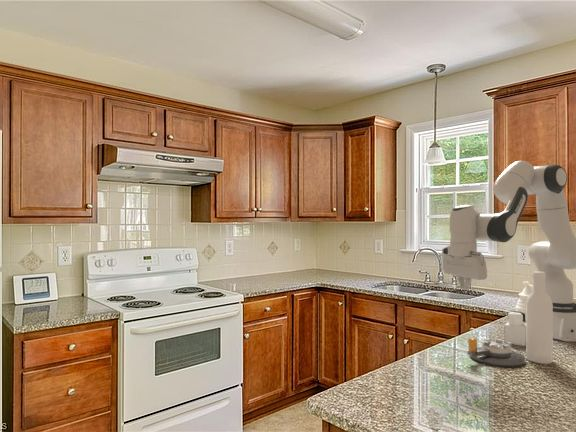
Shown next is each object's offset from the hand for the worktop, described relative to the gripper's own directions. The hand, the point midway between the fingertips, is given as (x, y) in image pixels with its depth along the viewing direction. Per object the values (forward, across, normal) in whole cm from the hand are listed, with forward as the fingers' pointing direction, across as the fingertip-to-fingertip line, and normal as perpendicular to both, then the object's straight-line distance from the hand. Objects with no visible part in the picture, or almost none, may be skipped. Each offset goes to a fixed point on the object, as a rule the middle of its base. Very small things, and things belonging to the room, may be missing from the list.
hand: (464, 289), depth 154 cm
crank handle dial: (+21, -8, -3) cm, 23 cm away
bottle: (+24, -12, -20) cm, 33 cm away
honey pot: (+25, +40, -66) cm, 82 cm away
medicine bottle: (+24, +7, -28) cm, 38 cm away
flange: (+23, -8, -6) cm, 25 cm away
